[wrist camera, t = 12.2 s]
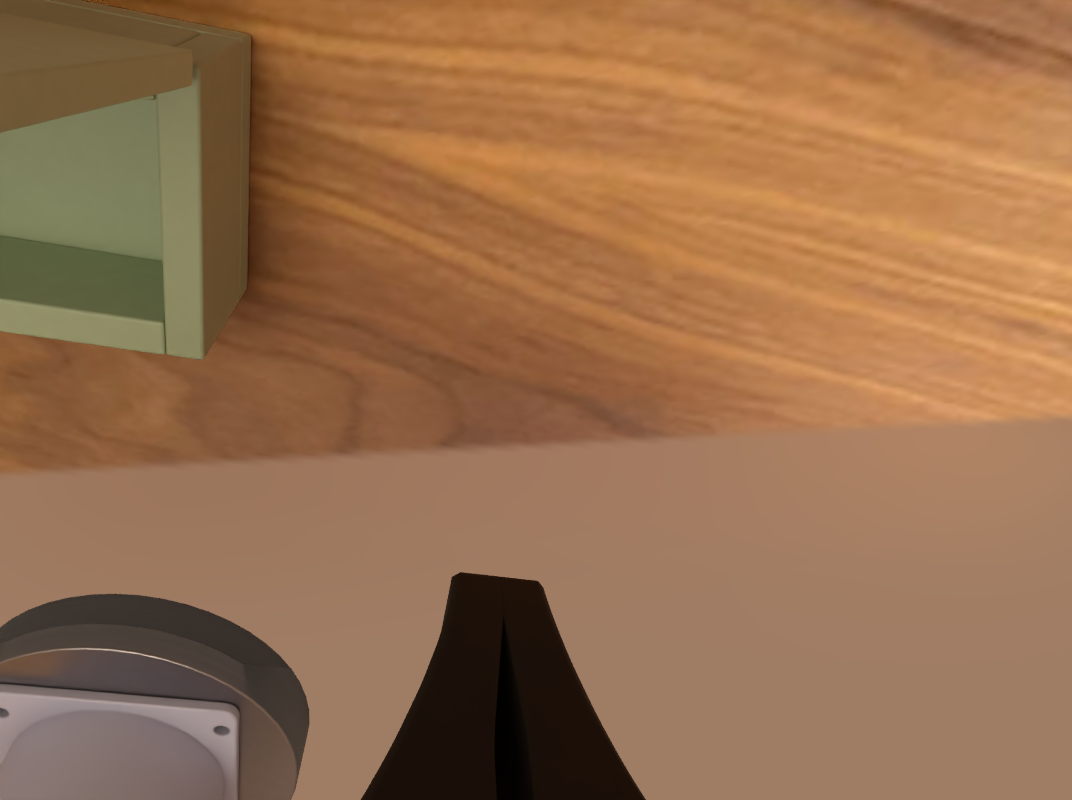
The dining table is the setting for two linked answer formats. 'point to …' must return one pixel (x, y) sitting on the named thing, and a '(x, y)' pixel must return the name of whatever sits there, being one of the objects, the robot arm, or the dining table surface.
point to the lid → (78, 70)
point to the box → (131, 199)
